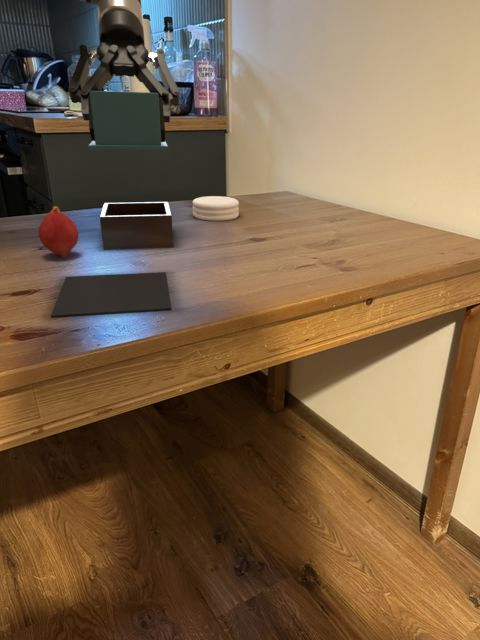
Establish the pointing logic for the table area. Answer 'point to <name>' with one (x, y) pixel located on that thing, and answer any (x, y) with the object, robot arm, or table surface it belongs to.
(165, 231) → the box
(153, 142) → the box
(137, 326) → the table surface
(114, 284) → the mat
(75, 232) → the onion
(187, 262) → the table surface
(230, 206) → the white short cylinder
